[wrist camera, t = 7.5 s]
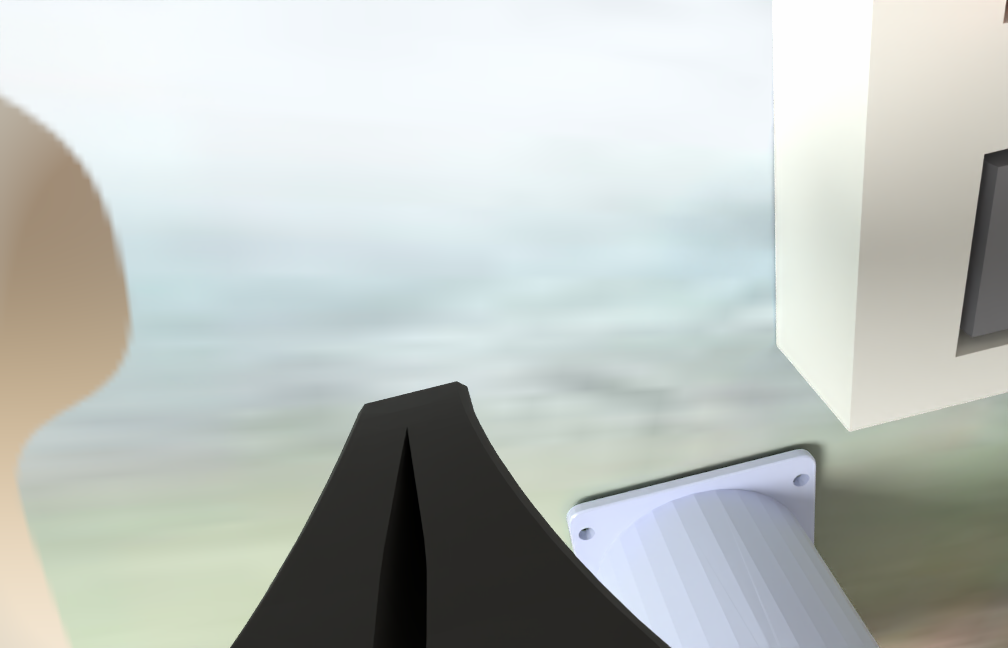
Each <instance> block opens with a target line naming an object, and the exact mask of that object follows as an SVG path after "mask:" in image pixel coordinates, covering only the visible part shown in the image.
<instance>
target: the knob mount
mask: <svg viewBox="0 0 1008 648" xmlns="http://www.w3.org/2000/svg"><path fill="white" fill-rule="evenodd" d="M773 78H774V174H775V270H776V345H777V346H778V348H779V349H780V350H781V351H782V352H783V354H784V355H785V356H786V357H787V358H788V360H789V361H790V362H791V363H792V364H793V365H794V367H795V368H796V369H797V370H798V371H799V373H800V374H801V375H802V376H803V377H804V379H805V380H806V381H807V382H808V383H809V384H810V386H811V387H812V388H813V389H814V390H815V392H816V393H817V394H818V395H819V396H820V398H821V399H822V400H823V401H824V402H825V403H826V405H827V406H828V407H829V408H830V409H831V411H832V412H833V413H834V414H835V415H836V417H837V418H838V419H839V420H840V421H841V422H842V424H843V425H844V426H845V427H846V428H847V430H848V431H849V432H850V431H854V430H858V429H862V428H866V427H870V426H874V425H878V424H882V423H886V422H890V421H894V420H898V419H902V418H906V417H910V416H914V415H918V414H922V413H926V412H930V411H934V410H938V409H942V408H946V407H950V406H954V405H958V404H962V403H966V402H970V401H974V400H978V399H982V398H986V397H990V396H994V395H998V394H1002V393H1006V392H1008V329H1005V330H1001V331H997V332H993V333H989V334H985V335H981V336H977V337H973V338H972V337H971V336H969V335H968V334H967V333H965V332H964V331H963V330H962V329H960V322H961V314H962V307H963V300H964V293H965V286H966V279H967V272H968V265H969V258H970V251H971V244H972V237H973V230H974V223H975V216H976V209H977V202H978V195H979V188H980V181H981V174H982V167H983V160H984V154H988V153H992V152H996V151H1000V150H1004V149H1008V0H773Z"/></svg>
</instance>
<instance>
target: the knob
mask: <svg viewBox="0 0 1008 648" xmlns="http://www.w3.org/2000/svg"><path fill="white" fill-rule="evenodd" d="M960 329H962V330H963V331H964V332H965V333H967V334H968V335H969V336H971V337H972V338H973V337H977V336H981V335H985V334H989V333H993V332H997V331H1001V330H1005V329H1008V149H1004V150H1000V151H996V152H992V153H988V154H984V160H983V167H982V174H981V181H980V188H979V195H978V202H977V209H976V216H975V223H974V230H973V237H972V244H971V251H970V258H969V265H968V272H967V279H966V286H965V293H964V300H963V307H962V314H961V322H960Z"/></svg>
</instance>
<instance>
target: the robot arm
mask: <svg viewBox="0 0 1008 648" xmlns="http://www.w3.org/2000/svg"><path fill="white" fill-rule="evenodd" d="M800 474H801V475H800ZM798 475H800V476H798ZM797 476H798V477H797ZM815 487H816V461H815V459H814V457H813V456H812V455H811V453H810V452H808V451H807V450H804V449H797V450H792V451H788V452H784V453H780V454H776V455H772V456H768V457H764V458H761V459H757V460H753V461H749V462H745V463H741V464H737V465H733V466H729V467H725V468H721V469H717V470H713V471H709V472H705V473H701V474H697V475H693V476H689V477H685V478H681V479H677V480H673V481H669V482H665V483H661V484H657V485H653V486H649V487H645V488H641V489H637V490H633V491H629V492H625V493H621V494H617V495H613V496H609V497H605V498H601V499H597V500H593V501H589V502H585V503H581V504H578V505H575V506H573V507H572V508H571V509H570V510H569V511H568V513H567V523H568V527H569V532H570V537H571V541H572V546H573V550H574V553H573V552H572V551H571V550H570V549H569V548H568V546H567V545H566V544H565V543H564V542H563V541H562V540H561V538H560V537H559V536H558V535H557V534H556V533H555V531H554V530H553V529H552V528H551V527H550V525H549V524H548V523H547V522H546V520H545V519H544V518H543V517H542V515H541V514H540V513H539V512H538V510H537V509H536V508H535V507H534V505H533V504H532V503H531V502H530V500H529V499H528V498H527V496H526V495H525V494H524V492H523V491H522V490H521V488H520V487H519V486H518V484H517V483H516V481H515V480H514V478H513V477H512V475H511V474H510V472H509V471H508V469H507V468H506V466H505V465H504V463H503V462H502V461H501V459H500V458H499V456H498V455H497V453H496V451H495V450H494V448H493V446H492V445H491V443H490V441H489V440H488V438H487V436H486V434H485V432H484V430H483V429H482V427H481V425H480V423H479V421H478V419H477V417H476V415H475V412H474V409H473V406H472V402H471V399H470V395H469V392H468V388H467V386H465V385H463V384H461V383H459V382H457V381H456V382H452V383H448V384H444V385H440V386H436V387H432V388H428V389H424V390H420V391H416V392H412V393H408V394H404V395H400V396H396V397H392V398H388V399H383V400H379V401H375V402H371V403H367V404H365V405H364V406H363V408H362V409H361V411H360V412H359V414H358V416H357V418H356V421H355V423H354V425H353V427H352V430H351V432H350V434H349V436H348V439H347V441H346V443H345V445H344V448H343V450H342V452H341V454H340V456H339V458H338V461H337V463H336V465H335V467H334V469H333V471H332V473H331V475H330V477H329V479H328V482H327V484H326V486H325V487H324V489H323V491H322V493H321V495H320V497H319V499H318V501H317V503H316V505H315V507H314V509H313V511H312V513H311V515H310V517H309V519H308V521H307V522H306V524H305V526H304V528H303V530H302V532H301V534H300V536H299V537H298V539H297V541H296V543H295V544H294V546H293V548H292V550H291V551H290V553H289V555H288V556H287V558H286V560H285V561H284V563H283V565H282V567H281V568H280V570H279V572H278V573H277V575H276V577H275V579H274V580H273V582H272V584H271V585H270V587H269V589H268V590H267V592H266V594H265V595H264V597H263V599H262V600H261V602H260V603H259V605H258V607H257V608H256V610H255V611H254V613H253V614H252V616H251V617H250V619H249V621H248V622H247V624H246V625H245V627H244V628H243V630H242V631H241V633H240V634H239V636H238V637H237V639H236V640H235V642H234V643H233V644H232V646H231V647H230V648H880V647H879V645H878V644H877V642H876V641H875V639H874V638H873V636H872V635H871V633H870V632H869V630H868V628H867V627H866V625H865V624H864V622H863V621H862V619H861V618H860V616H859V615H858V613H857V611H856V610H855V608H854V607H853V605H852V604H851V602H850V601H849V599H848V597H847V596H846V594H845V593H844V591H843V590H842V588H841V587H840V585H839V584H838V582H837V580H836V579H835V577H834V576H833V574H832V573H831V571H830V570H829V568H828V567H827V565H826V563H825V562H824V560H823V559H822V557H821V556H820V554H819V553H818V551H817V549H816V548H815V546H814V526H815ZM585 528H589V529H587V530H585V531H581V530H583V529H585Z"/></svg>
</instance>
